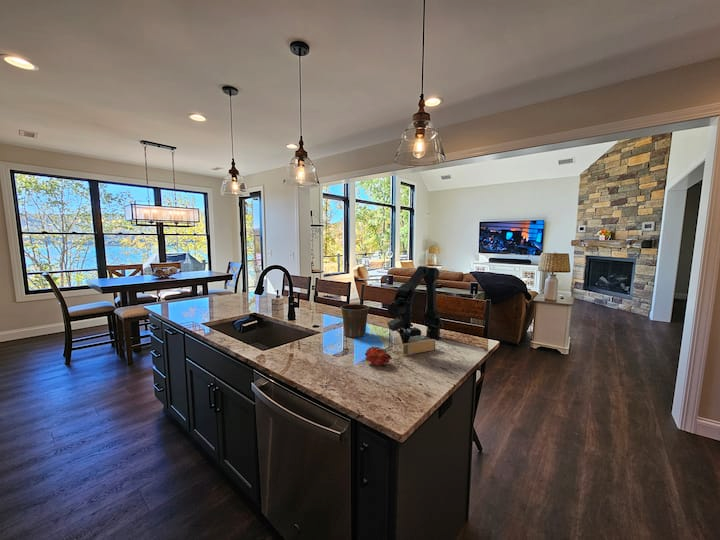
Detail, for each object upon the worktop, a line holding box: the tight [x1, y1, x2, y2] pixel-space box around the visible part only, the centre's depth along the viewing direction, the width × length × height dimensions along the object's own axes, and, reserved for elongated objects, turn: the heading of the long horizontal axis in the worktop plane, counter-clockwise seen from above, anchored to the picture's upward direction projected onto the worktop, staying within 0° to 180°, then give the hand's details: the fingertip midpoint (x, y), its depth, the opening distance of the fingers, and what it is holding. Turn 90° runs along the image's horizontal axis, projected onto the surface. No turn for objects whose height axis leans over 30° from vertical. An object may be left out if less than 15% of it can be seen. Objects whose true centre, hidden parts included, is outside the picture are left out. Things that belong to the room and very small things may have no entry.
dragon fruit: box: [364, 345, 393, 368], centre depth 127 cm, size 8×8×12 cm
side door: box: [401, 339, 436, 356], centre depth 141 cm, size 18×1×5 cm, turn 114°
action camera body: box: [401, 334, 431, 345], centre depth 146 cm, size 13×8×6 cm, turn 114°
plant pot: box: [340, 303, 370, 338], centre depth 168 cm, size 16×16×16 cm
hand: (404, 345), depth 141 cm, fingers closed
